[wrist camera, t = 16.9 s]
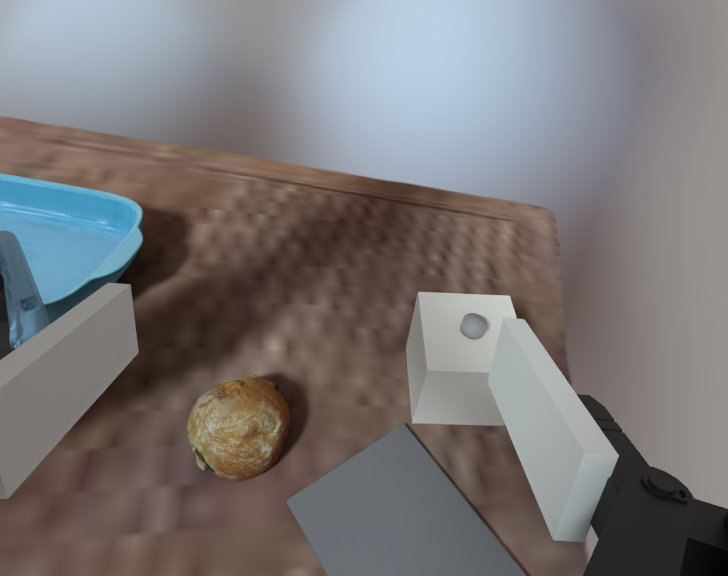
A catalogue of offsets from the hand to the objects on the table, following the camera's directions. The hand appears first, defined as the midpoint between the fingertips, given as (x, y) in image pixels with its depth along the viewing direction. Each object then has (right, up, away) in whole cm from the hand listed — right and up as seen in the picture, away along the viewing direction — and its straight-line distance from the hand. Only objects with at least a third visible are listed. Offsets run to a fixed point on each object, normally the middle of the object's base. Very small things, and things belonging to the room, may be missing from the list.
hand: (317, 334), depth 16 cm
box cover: (+12, -9, +36) cm, 39 cm away
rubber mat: (+5, -21, +24) cm, 33 cm away
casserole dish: (-45, +4, +45) cm, 64 cm away
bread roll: (-11, -13, +31) cm, 35 cm away
